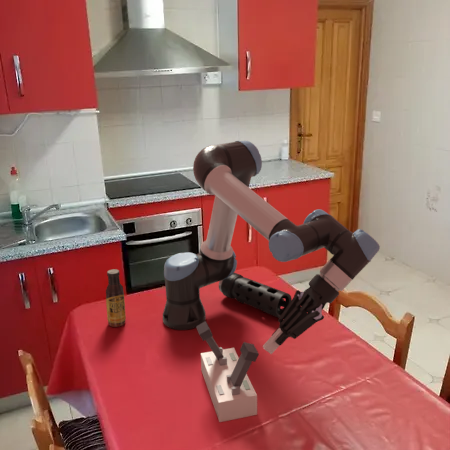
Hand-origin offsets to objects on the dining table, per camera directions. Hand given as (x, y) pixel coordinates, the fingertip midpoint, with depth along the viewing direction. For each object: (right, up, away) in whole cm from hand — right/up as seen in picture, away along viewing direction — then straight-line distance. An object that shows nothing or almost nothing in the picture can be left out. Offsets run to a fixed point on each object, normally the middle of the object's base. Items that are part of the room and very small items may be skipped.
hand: (266, 350), depth 122 cm
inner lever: (-12, -6, +13) cm, 18 cm away
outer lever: (-9, -10, +1) cm, 13 cm away
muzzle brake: (0, +2, +54) cm, 54 cm away
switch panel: (-10, -14, +9) cm, 19 cm away
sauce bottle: (-48, -3, +45) cm, 66 cm away
